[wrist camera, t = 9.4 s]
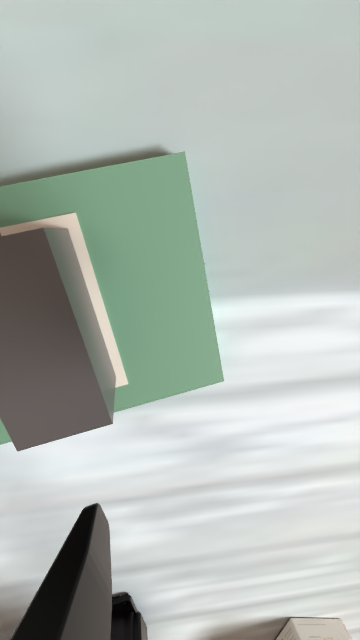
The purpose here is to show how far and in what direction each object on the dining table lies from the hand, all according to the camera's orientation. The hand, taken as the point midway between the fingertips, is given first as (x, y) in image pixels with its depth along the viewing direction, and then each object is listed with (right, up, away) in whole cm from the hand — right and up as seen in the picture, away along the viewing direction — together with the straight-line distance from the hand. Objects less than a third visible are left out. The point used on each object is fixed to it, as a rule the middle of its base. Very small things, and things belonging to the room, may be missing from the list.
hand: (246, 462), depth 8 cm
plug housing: (-9, +6, +7) cm, 13 cm away
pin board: (-9, +5, +8) cm, 13 cm away
